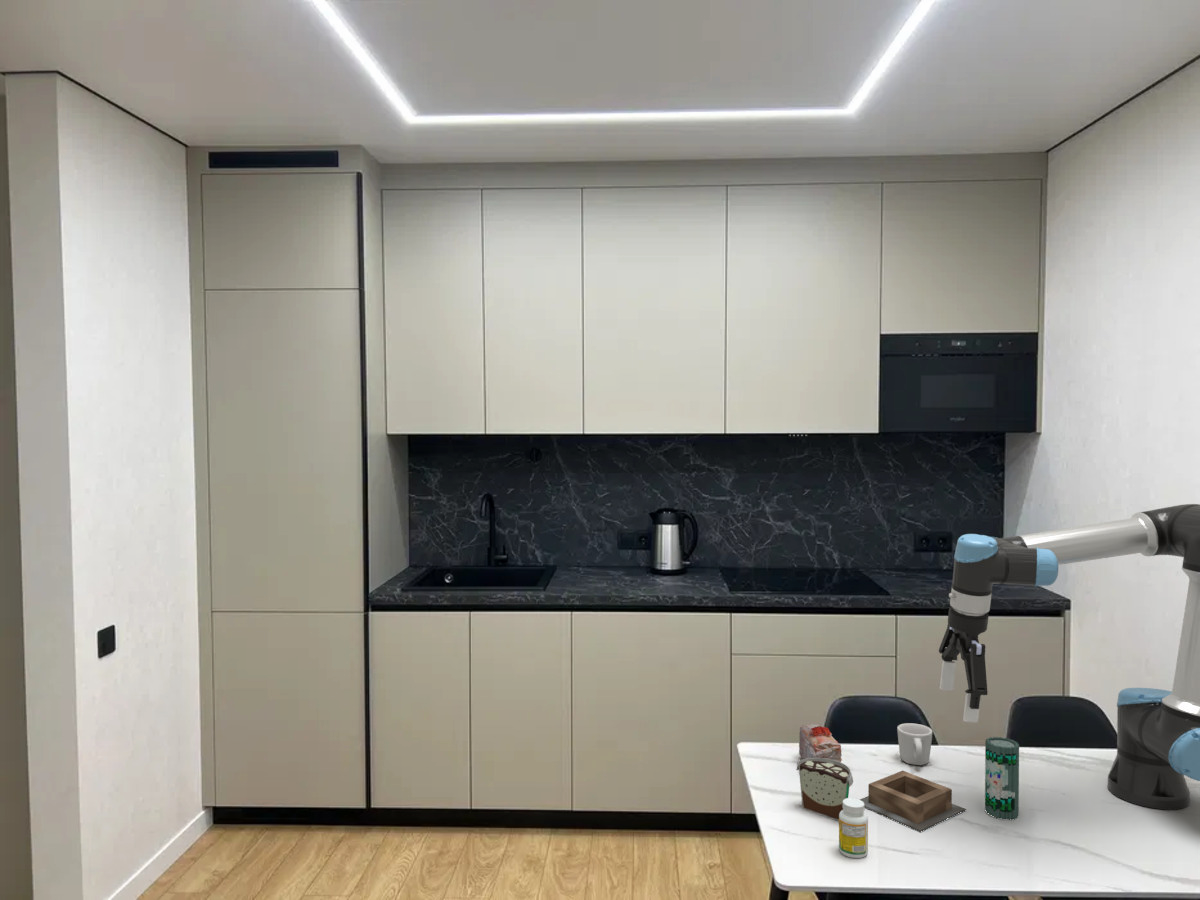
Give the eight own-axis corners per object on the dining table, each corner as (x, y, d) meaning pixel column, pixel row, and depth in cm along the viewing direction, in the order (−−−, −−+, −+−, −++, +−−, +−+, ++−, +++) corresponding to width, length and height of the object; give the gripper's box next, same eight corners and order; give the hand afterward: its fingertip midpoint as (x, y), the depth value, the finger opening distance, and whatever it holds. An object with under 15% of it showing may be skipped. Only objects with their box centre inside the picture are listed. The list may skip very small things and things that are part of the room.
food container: (863, 814, 178) (863, 767, 177) (850, 825, 173) (850, 776, 173) (810, 797, 186) (810, 752, 186) (796, 806, 181) (796, 760, 181)
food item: (846, 779, 195) (846, 736, 195) (812, 780, 195) (812, 738, 194) (825, 755, 209) (825, 716, 209) (793, 757, 208) (793, 717, 208)
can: (980, 812, 178) (980, 741, 178) (994, 803, 182) (995, 734, 181) (1008, 822, 173) (1009, 750, 173) (1023, 814, 177) (1023, 743, 177)
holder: (965, 810, 179) (966, 790, 179) (920, 832, 170) (920, 810, 170) (900, 784, 192) (900, 765, 192) (854, 803, 183) (854, 783, 183)
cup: (937, 774, 197) (937, 740, 197) (901, 771, 199) (901, 738, 199) (929, 756, 208) (929, 724, 208) (895, 753, 210) (895, 721, 209)
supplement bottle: (860, 862, 159) (860, 811, 158) (833, 852, 162) (834, 803, 162) (872, 850, 163) (872, 801, 162) (846, 842, 166) (846, 793, 166)
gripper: (929, 587, 187) (920, 677, 191) (974, 633, 162) (962, 734, 166) (964, 588, 186) (954, 678, 190) (1014, 635, 162) (1000, 736, 166)
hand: (957, 705), depth 178 cm, fingers open, 13 cm apart
